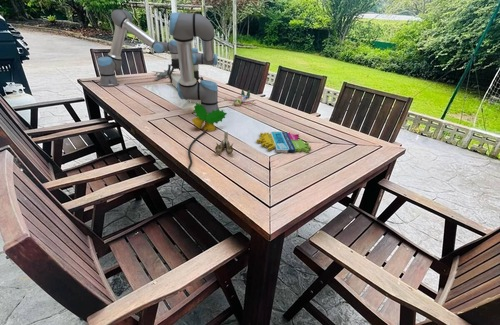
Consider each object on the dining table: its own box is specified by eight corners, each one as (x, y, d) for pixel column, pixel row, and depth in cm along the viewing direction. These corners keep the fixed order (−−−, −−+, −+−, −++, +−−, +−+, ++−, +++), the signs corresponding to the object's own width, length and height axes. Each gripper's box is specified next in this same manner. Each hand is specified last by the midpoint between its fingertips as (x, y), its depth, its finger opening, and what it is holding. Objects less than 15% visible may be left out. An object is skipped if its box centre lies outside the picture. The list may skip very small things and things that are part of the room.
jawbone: (234, 135, 144) (233, 125, 135) (233, 160, 138) (232, 151, 129) (217, 135, 144) (216, 125, 135) (216, 160, 138) (214, 150, 129)
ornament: (218, 133, 171) (224, 110, 169) (221, 134, 163) (227, 111, 161) (186, 125, 162) (192, 101, 160) (189, 126, 155) (195, 101, 153)
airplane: (147, 74, 291) (145, 64, 286) (175, 72, 304) (174, 63, 299) (153, 82, 263) (151, 72, 257) (184, 80, 276) (183, 70, 271)
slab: (203, 101, 207) (203, 93, 204) (191, 102, 203) (190, 93, 200) (180, 81, 262) (180, 74, 259) (170, 81, 258) (169, 74, 254)
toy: (261, 91, 228) (254, 99, 202) (261, 99, 231) (253, 108, 205) (231, 87, 233) (220, 95, 207) (230, 95, 236) (219, 104, 210)
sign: (313, 150, 142) (258, 149, 139) (312, 153, 143) (258, 152, 140) (301, 132, 164) (254, 130, 161) (301, 134, 165) (254, 133, 162)
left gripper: (186, 57, 251) (187, 81, 262) (161, 57, 241) (164, 82, 252) (188, 59, 246) (189, 82, 256) (163, 59, 236) (165, 84, 246)
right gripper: (206, 68, 207) (206, 96, 218) (177, 69, 197) (179, 98, 208) (209, 70, 202) (209, 98, 212) (180, 71, 192) (181, 101, 203)
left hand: (177, 82), depth 254 cm, fingers closed on slab, 10 cm apart
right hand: (194, 98), depth 210 cm, fingers closed on slab, 10 cm apart
